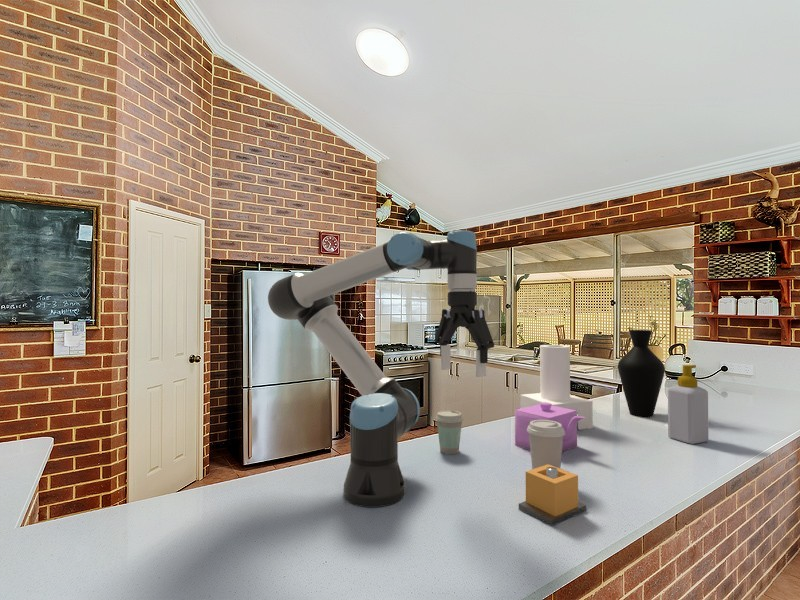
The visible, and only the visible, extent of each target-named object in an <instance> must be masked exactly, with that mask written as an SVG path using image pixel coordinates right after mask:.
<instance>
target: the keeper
mask: <svg viewBox="0 0 800 600" xmlns="http://www.w3.org/2000/svg"><path fill="white" fill-rule="evenodd" d="M546 476H547V477H550V478H552V479H555V478H558V469H557V468H554V467H547V468H546ZM518 510H519V511H521V512H524V513H526V514H528V515H530V516H532V517H533V518H535V519H538V520H539V521H542V522H543V523H546V524H547V525H550V526H552V527H553V526H555V525H558V524H560V523H561V522H564V521H566V520H569V519H570V518H573V517H575V516H577V515H579V514H581V513H584V512H586V511H587V505H586V504H585V503H582V502H580V501H578V507H576V508H574V509H572V510H569V511H567V512H565V513H562V514H560V515H558V516H553V515H551V514H549V513H547V512H545V511H543V510H541V509H539V508H537V507H535V506H533V505H531V504H529V503H526V500H525V501H523V502H522V501H521V502H520V503H518Z"/></svg>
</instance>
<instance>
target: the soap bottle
mask: <svg viewBox="0 0 800 600" xmlns="http://www.w3.org/2000/svg"><path fill="white" fill-rule="evenodd" d="M696 367H697V365H696V364H683V365H682V375H680V376H678V377H677V384H676V385H673V386H670V387H669V388H668V389H667V435H668V438H670V439H673V440H676V441H680V442H683V443H686V444H689V445H690V444H691V445H695V444H700V443H701V444H702V443H707V442H708V441H709V392H708V390H707V389H705V388H703V387H700V386H698V379H697V377H695V376H693V369H695V368H696Z"/></svg>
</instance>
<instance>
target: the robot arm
mask: <svg viewBox="0 0 800 600" xmlns="http://www.w3.org/2000/svg"><path fill="white" fill-rule="evenodd" d="M477 252H478V248H477V238H476V233H475V232H473V231H471V230H463V229H462V230H460V229H459V230H455V231H453V230H452V231H449V232H447V236H446V239H442V240H426V239H423V238H421V237H419V236H417V235H416V234H414V233H411V232H403V231H402V232H397V233H396V234H394V235H392V236H391V238H390V239H389V240H388V241H387V242H384V243H381V244H379V245H377V246H373V247H371V248H368V249H366V250H363V251H361V252H359V253H357V254H354V255H351V256H348V257H346V258H344V259H343V258H342V259H341V260H338V261H335V262H333V263H330V264H328V265H325V266H323V267H320V268H317V269H315V270H312V271H310V272H309V271H308V272H307V273H305V274H303V273H301V272H296V273H294V274H291V275H288V276H285V277H283V278H281V279H279V280H277V281H276V282H274V283H273V284H272V286H271V287H270V289H269V291H268V293H267V294H268V295H267V303H268V307H269V308H270V310H271V311H272V313H273V314H274V315H276V316H277V317H279V318H280V319H284V320H289V321H290V320H297V321H298V322H299V323H300V324H301V326H302V327H303V329H304V330H305V331H306V332H311V333H314V335H315V336H316V337H317V339H318V340H319V341H320V343H321V344H322V345H323V346H324V348H325V349H326V350H327V351H328V353H329V354H330V355H331V357H332V358H333V360H334V361H335V362H336V364H337V365H338V366H339V368H340V369H341V371H343V373H344V374H345V376H346V377H347V378H348V380H349V381H350V382H351V383H352V384H353V386H354V387H355V388H356V390H357V391H358V393H359V394H360V395H361V396H358V397H357V398H355V399H354V400H353V401H352V403H351V405H350V413H349V422H350V425H349V428H350V431H349V432H350V435H349V436H350V438H349V440H350V443H349V444H350V446H349V447H350V463H349V467H348V470H347V473H346V477H345V480H344V483H343V498H344V499H345V500H346V501H347V502H348V503H350V504H352V505H356V506H360V507H365V508H367V507H369V508H370V507H371V508H376V507H377V508H378V507H379V508H380V507H384V506H389V505H392V504H395V503H397V502H399V501H401V500H402V499H403V498H404V496H405V495H406V484H405V483H406V482H405V479H404V476H403V474H402V469H401V468H400V465H399V461H398V460H399V459H398V458H399V457H398V456H399V455H398V454H399V451H398V449H399V448H398V446H399V445H398V444H399V443H398V442H399V441H398V439H399V438H400V437H402V436H403V435H405V434H406V433H408V432H409V431H411V429H413V427H415V424H416V423H417V422H418V420H419V417H420V414H421V413H420V412H421V410H420V409H421V407H420V401H419V399H418V398H417V396H416V395H415V393H413V391H411V390H409V389H407V388H404V387H401V385H400V384H399V383H398V381H397V380H396V379H395V378H394V377H389V376H386V374H385V373H384V372H383V371H382V370H381V368H380V367H379V366H378V365H377V363H376V362H375V361H374V359H373V358H372V357H371V356H370V354H369V353H368V352H367V351H366V349H365V348H364V347H363V346H362V344H361V343H360V342H359V340H358V339H357V338H356V336H355V335H354V334H353V332H352V331H351V330H350V329H349V328H348V327H347V325H346V324H345V323H344V321H343V320H342V318H341V317H340V316H339V315H338V309H339V306H338V305H337V304H336V303H335V294H338V293H340V292H343V291H346V290H349V289H352V288H353V287H357V286H360V285H363V284H366V283H368V282H370V281H373V280H377V279H378V278H381V277H385V276H387V275H389V274H392V273H395V272H398V271H402V270H404V269H406V270H410V271H411V270H412V271H420V270H438V269H439V270H440V269H442V270H444V269H445V270H446V269H447V290H449V291H448V293H447V305H448V306H449V307H450V308H449V309H448V308H446V309H445V308H443V309H441V318H440V321H439V325H438V328H437V331H436V334H435V337H434V342H435V343H437V344H438V346H439V353H440V354H439V355H440V370H441V371H444V370H446V371H447V370H451V369H452V368H451V365H452V364H451V355H452V354H451V344H450V341H451V340H452V338H453V336H454V334H455V333H456V330H458V328H460V327H461V328H465V329H466V330H467V331H468V333H469V334H470V336H471V338H472V340H473V341H474V343H475V345H476V347H477V349H475V375H476V376H475V377H477V378H480V377H487V363H488V362H489V361H488V360H489V358H488V350H489V349H491V348H492V349H493V348H494V347H495V342H494V339H493V338H492V334H491V331H490V329H489V326H488V322H487V320H486V317H485V316H486V313H485V310H484V309H475V307H476V306H477V304H478V293H477V292H476V291H475V290H477V285H478V284H477V280H478V279H477V258H478V257H477V256H478V255H477V254H478V253H477Z"/></svg>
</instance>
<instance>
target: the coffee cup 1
mask: <svg viewBox="0 0 800 600" xmlns="http://www.w3.org/2000/svg"><path fill="white" fill-rule="evenodd" d="M435 420H436V425H437V434H438V435H437V436H438V442H439V449H440V453H442V454H445V455H456V454H458V453H459V451H460V446H461V445H460V443H461V432H462V424H463V421H464V417H463V416H462V412H460V411H458V410H452V409H451V410H441V411H438V412H437V414H436V416H435Z"/></svg>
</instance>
